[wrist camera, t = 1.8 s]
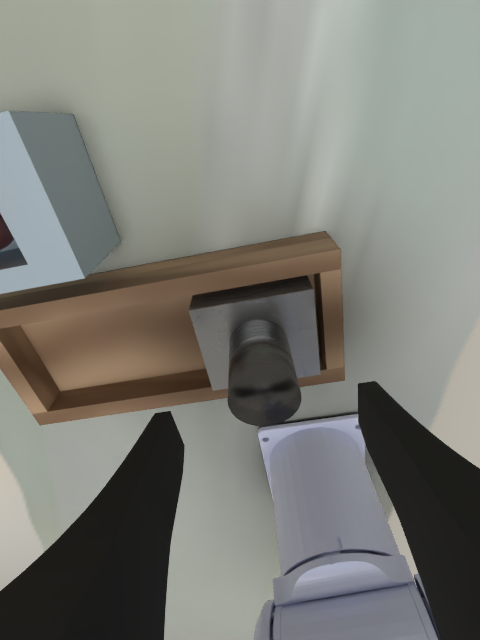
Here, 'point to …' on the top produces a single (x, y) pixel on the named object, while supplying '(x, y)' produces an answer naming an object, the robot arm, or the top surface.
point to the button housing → (49, 202)
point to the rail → (150, 329)
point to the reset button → (4, 234)
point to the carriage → (259, 345)
